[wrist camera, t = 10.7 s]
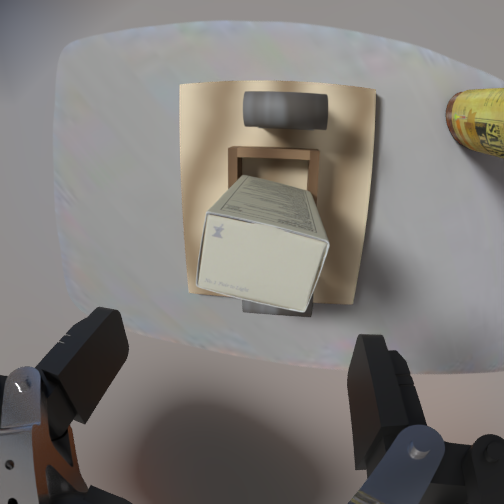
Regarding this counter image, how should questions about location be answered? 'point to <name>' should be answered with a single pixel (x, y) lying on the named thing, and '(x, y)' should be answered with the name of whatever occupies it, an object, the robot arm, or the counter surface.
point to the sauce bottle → (478, 120)
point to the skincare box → (263, 244)
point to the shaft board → (282, 164)
